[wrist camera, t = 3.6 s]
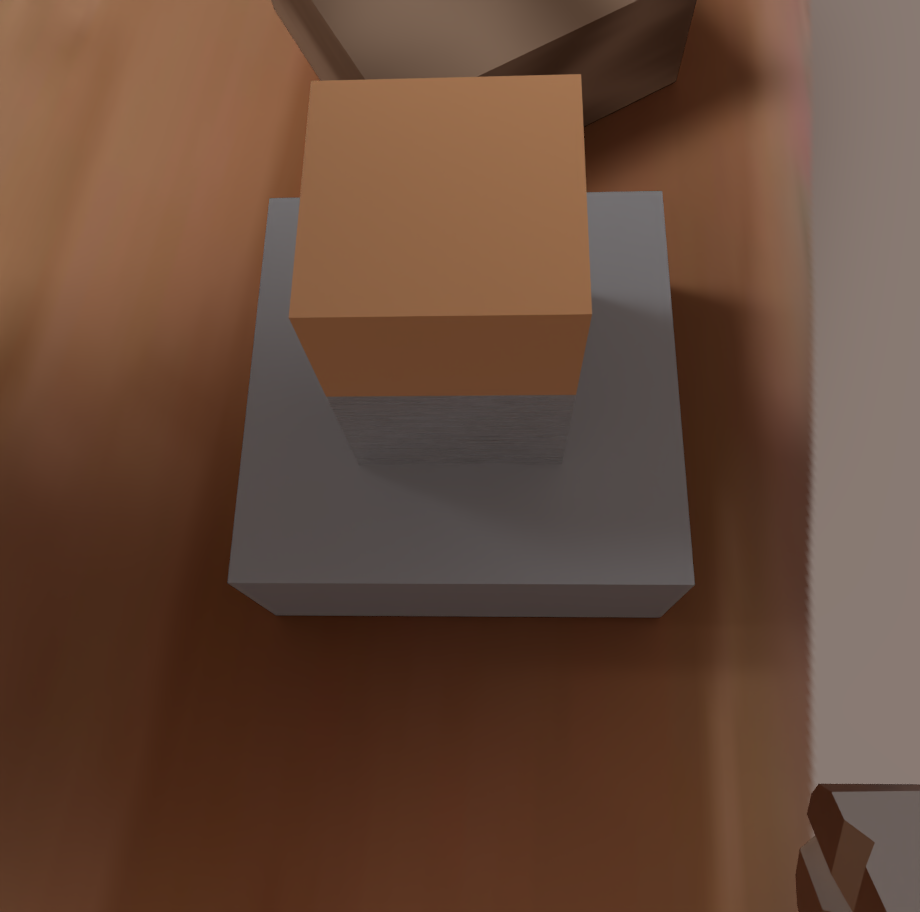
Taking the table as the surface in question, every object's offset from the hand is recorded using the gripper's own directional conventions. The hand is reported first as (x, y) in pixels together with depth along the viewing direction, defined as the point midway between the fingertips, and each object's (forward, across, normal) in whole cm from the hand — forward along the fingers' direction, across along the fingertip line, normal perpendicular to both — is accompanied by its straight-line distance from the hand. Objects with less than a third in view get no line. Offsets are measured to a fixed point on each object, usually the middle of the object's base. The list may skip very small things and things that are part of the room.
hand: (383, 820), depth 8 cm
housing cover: (+13, 0, -2) cm, 14 cm away
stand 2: (+20, 0, +5) cm, 21 cm away
